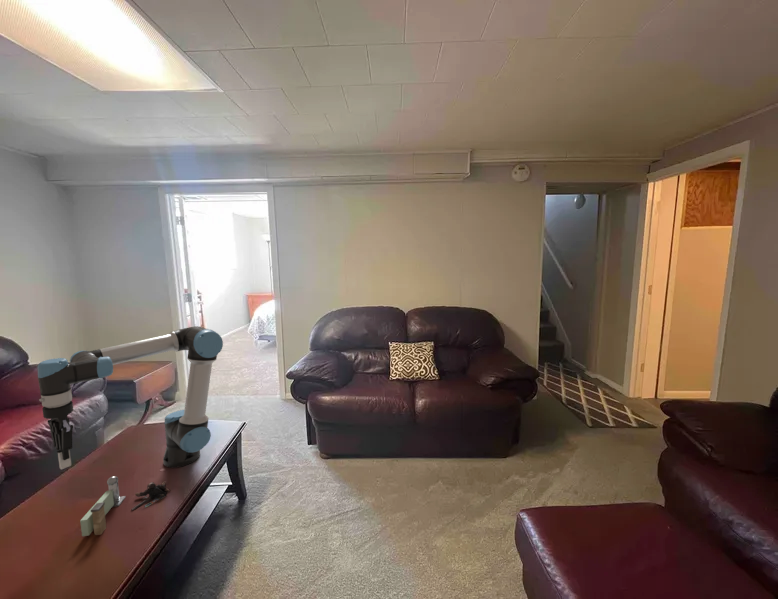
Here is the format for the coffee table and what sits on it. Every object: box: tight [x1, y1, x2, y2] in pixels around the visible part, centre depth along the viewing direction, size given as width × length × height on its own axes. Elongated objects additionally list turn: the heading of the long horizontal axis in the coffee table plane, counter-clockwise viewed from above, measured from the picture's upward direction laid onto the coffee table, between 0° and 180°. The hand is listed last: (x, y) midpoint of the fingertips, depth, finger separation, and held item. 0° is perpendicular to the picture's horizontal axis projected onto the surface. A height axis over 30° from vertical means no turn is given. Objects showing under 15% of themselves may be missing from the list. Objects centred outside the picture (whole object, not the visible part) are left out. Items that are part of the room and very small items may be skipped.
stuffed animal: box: [131, 480, 171, 511], centre depth 138 cm, size 12×10×12 cm
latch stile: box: [90, 502, 107, 536], centre depth 120 cm, size 2×3×10 cm
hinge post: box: [106, 475, 126, 508], centre depth 134 cm, size 5×5×11 cm
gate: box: [79, 490, 114, 537], centre depth 125 cm, size 15×2×6 cm, turn 12°
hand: (65, 466), depth 121 cm, fingers closed
